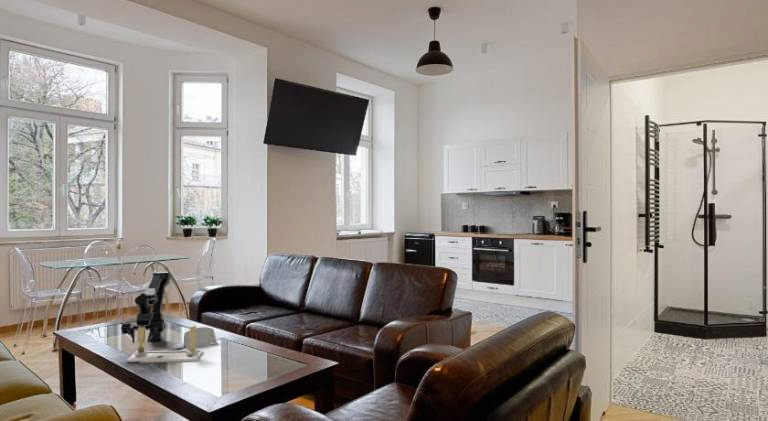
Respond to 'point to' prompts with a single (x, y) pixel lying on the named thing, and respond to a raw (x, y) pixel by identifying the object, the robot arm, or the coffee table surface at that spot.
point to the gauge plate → (173, 352)
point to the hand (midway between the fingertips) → (140, 342)
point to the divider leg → (141, 342)
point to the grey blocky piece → (201, 337)
